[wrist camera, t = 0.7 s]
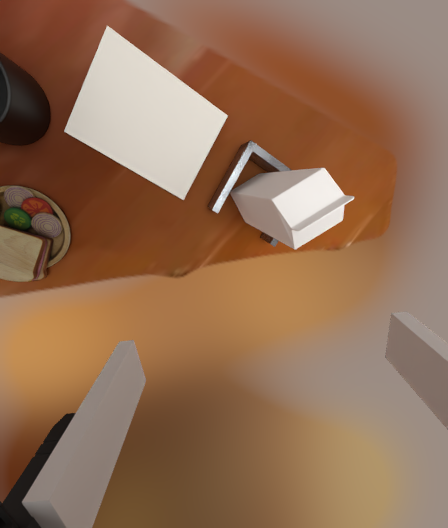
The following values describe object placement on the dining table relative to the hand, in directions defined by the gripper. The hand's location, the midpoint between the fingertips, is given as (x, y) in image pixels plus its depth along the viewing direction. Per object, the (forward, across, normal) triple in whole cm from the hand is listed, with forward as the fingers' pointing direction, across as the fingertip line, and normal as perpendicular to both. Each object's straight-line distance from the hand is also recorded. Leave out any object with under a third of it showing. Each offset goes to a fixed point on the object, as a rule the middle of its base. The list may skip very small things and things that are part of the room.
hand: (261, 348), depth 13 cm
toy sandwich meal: (+26, -31, +4) cm, 41 cm away
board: (+30, -11, +16) cm, 36 cm away
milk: (+33, +3, +4) cm, 34 cm away
